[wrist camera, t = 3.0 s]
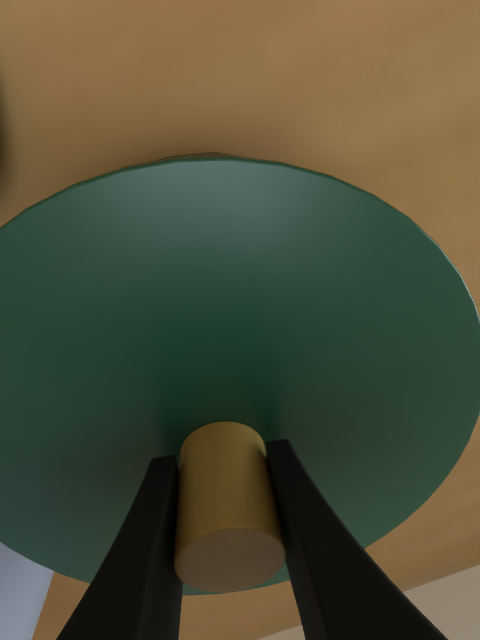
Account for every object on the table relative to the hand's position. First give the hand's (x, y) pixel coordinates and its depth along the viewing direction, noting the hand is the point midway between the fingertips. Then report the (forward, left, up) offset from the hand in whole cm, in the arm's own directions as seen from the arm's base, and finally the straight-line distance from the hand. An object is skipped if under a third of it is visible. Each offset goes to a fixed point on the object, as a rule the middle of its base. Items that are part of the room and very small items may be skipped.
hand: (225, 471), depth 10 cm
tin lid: (0, 0, -1) cm, 1 cm away
